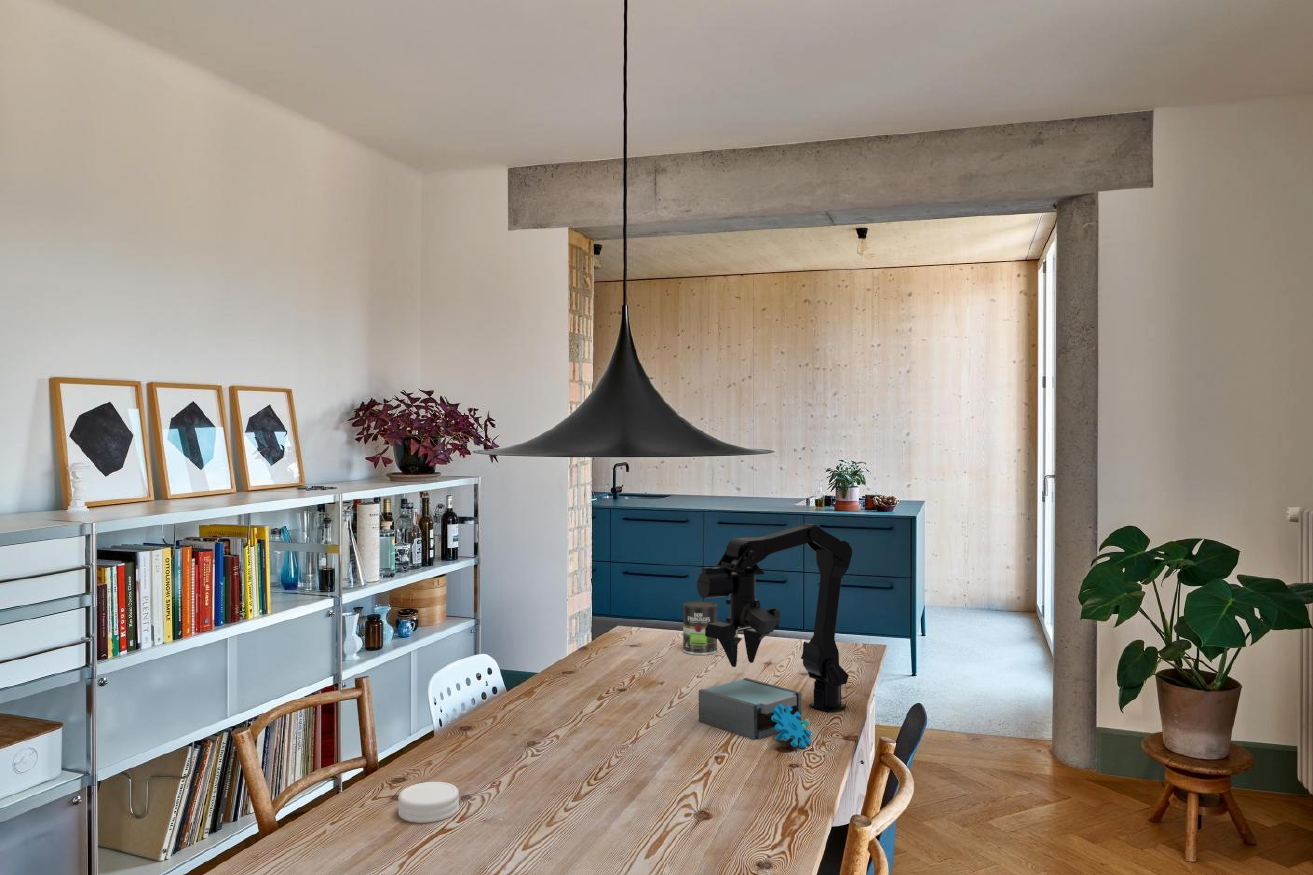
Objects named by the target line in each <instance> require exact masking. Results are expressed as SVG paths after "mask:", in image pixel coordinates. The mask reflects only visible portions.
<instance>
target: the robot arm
mask: <svg viewBox="0 0 1313 875" xmlns="http://www.w3.org/2000/svg"><path fill="white" fill-rule="evenodd" d="M802 545H807V546H808V548H809V549H811V550H812V551H814V552H815V556H816V557H815V559H816V565H817V568H818V571H819V574H820V579H819V586H818V595H817V602H816V604H817V605H816V612H815V621H814V626H813V636H812V637H811V638H810V640H809V641H808V642H807V641H804V642H803V644H802V654H801V657H800V659H801V660H802V665H803V666H802V667H804V669H805V670H806V671H807V675H808V677H809V678H810V679H814V681H813V686H814V688H813V702H811V703H808V707H811V708H814V709H817V710H821V711H825V712H829V713H833V712H834V711H835V712H836V711H838V710H839V711H840V710H841V709H844V708H847V704H845V703H842V686H843V685H847V684H848V681H849V680H848V679H849V676H850V675H849V673H847V671H845V669H843V668H842V666H841V665H840V652H839V649H838V646H837V643H836V640H835V637H836V629H837V621H838V612H839V604H840V596H841V588H842V586H841V585H842V580H843V578H844V576H845V574H846V572H847V571H848V570H849V568H850V565H851V562H852V561H851V560H852V558H853V548H852V546H851V545H850V543H849V542H847V541H846V540H843V539H839V538H837V537H836V536H834V535H832V534H831V533H829V532H826V531H825V530H824V529H822V528H821V527H820V526H818V525H817V524H813V523H802V524H801V525H799V526H798V525H797V526H794V527H792V528H788V529H785V530H781V531H778V532H774V533H772V534H767V535H764V536H758V537H754V536H753V537H752V536H751V537H749V536H748V537H747V536H746V537H737V538H731V540H729V541H728V543H727V546H726V549H725V551H724V553H723V555H722V556H721V557H720V560H719V561H718V563H717V564H716V565H715V567H709V566H703V567H701V573H700V574H699V575H698V577H697V578H698V579H697V581H696V588H697V593H698V594H699V597H700V598H701V599H703V600H704V599H705V600H706V599H714V598H715V599H717V598H727V597H729V598H727V599H725V604H726V605H729V616H728V617H726V618H725V622H723V621H717V622H714V623H709V624H707V626H706V627H705V636H707V637H711V638H715V639H717V641H718V642H719V643H720V645H721V647H722V648H723V651H724V653H725V655H726V657H727V659H728V662H729V664H730V666H731V667H732V668H736V667H737V664H738V649H739V648H738V645H739V643H740V642H741V641H742V640H743V638H744V642H745V643H744V644H745V651H746V655H747V656H746V657H747V660H748V663H751V664H753V663H754V662H755V658H756V656H757V653H758V650H759V647H760V644H761V642H762V640H763V639H764V638H765V637H766V636H767V635H770V634H771V633H774V631H775V630H779V628H780V627H779V626H780V624H781V612H780V609H778V608H777V607H774V608H773V607H771V608H769V609H763V608H762V607H761V602H760V600H759V599H756V576H759V575H760V576H761V575H762V576H763V575H764V574H765V571H764V570H762V568H760V566H759V563H761V562H762V561H764V560H766V559H767V557H769V556H770V555H772V554H775V553H778V552H783V551H785V550H789V549H793V548H795V547H796V548H797V547H798V546H802ZM742 631H743V632H742ZM738 632H742V633H743V636H744V637H743V638H742V637H739V634H738Z"/></svg>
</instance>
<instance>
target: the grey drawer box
mask: <svg viewBox="0 0 1313 875" xmlns="http://www.w3.org/2000/svg"><path fill="white" fill-rule="evenodd" d="M743 680H747V681H751V682H754V683H758V684H762V685H766V686H770V687H774V688H778V689H781V690H785V691H789V692H793V693H796V696H797V705H795V706H792V707H791V708H792V711H791V712H790V713H791V714H792V715H794V714H795V713H796V712H797V711H798V712H799V713H800V715H801V717H800V718H799V719H798V720H800V721H802V692H801V691H797V690H793V689H789V688H786V687H782V686H779V685H775V684H770V683H767V682H763V681H759V680H757V679H751V678H749V677H745V678H743ZM703 689H704V688H703ZM703 689H702V688H701V689H698V722H700V723H703V724H705V725H709V726H711V727H714V728H718V729H721V730H723V731H727V732H730V733H733V734H736V735H739V736H742V737H745V738H748V739H751V740H753V741H754V740H756V739H757V740H760V739H763V738H766V737H769V736H772V735H775V734H779V733H781V732H782V731H779V732H777V731H776V729H775V725H777V724H778V723H775V724H772V725H770V726H765V727H763V728H760V729H758V714H760V715H764V716H766V717H767V716H768V717H770V718H772V716H773V715H774V713H773V712H772V713H769V714H764V713H761V708H759V709H757V705H754V704H750V703H747V702H744V701H740V700H737V699H733V698H730V697H727V696H723V695H720V694H716V693H713V692H710V691H706V690H703ZM779 712H780V711H779ZM784 712H785V713H786V710H785V709H784Z"/></svg>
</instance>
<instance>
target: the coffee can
mask: <svg viewBox="0 0 1313 875" xmlns="http://www.w3.org/2000/svg"><path fill="white" fill-rule="evenodd" d="M718 606H719V605H718V603H717V602H713V601H706V600H692V601H686V602H683V604H682V608H683V618H682V620H683V621H682V622H683V624H682V625H683V627H682V628H683V629H682V630H683V632H682V633H683V634H682V637H683V639H682V652H683V653H684V654H687V655H692V656H694V655H695V656H710V655H714V654H717V653H718V639H715V638H711V637H707V636H705V627H706V626H707V624H709V623H714V622H718Z"/></svg>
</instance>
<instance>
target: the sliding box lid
mask: <svg viewBox="0 0 1313 875" xmlns="http://www.w3.org/2000/svg"><path fill="white" fill-rule="evenodd" d="M743 679H744V678H743ZM743 679H739V680H735V681H731V682H727V683H723V684H719V685H715V686H711V687H707V688H703V690H706V691H710V692H713V693H716V694H720V695H723V696H727V697H730V698H733V699H737V700H740V701H744V702H747V703H750V704H754V705H757V709H759V708H761V713H764V714H769V713H772V710H773V709H774V708H775V707H777V706H778V705H779V704H782V705H784V709H785V708H786V707H787V706H788V705H789V706H790V707H792V706H795V705H797V696H796V693H793V692H789V691H785V690H781V689H778V688H774V687H770V686H766V685H762V684H758V683H754V682H751V681H747V680H743ZM764 714H763V715H764Z"/></svg>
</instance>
